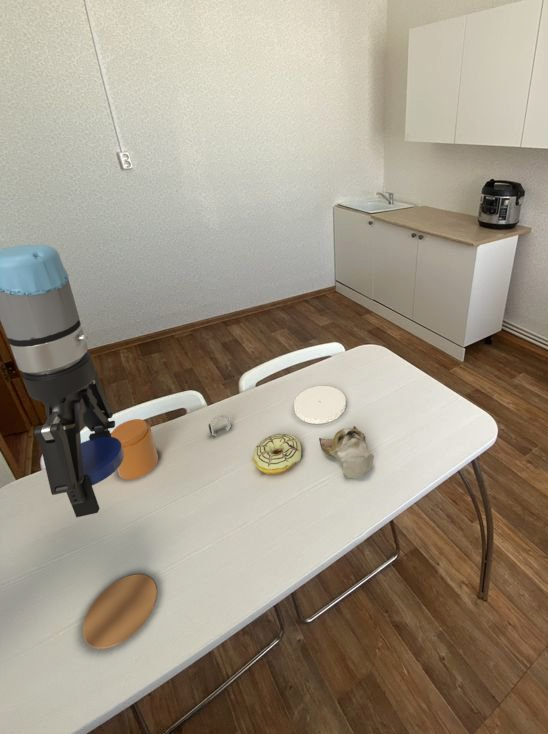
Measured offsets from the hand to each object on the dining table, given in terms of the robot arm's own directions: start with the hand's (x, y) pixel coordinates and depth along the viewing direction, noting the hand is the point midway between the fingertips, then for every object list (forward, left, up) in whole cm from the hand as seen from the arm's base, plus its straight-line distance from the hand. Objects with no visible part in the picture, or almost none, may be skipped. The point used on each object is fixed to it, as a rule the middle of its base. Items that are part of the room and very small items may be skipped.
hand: (99, 487), depth 59 cm
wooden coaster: (+4, -5, -20) cm, 21 cm away
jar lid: (0, 0, +6) cm, 6 cm away
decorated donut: (+14, +29, -20) cm, 38 cm away
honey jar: (-16, +19, -20) cm, 32 cm away
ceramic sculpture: (+30, +33, -20) cm, 49 cm away
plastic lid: (+17, +48, -20) cm, 55 cm away
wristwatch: (-4, +33, -20) cm, 39 cm away
